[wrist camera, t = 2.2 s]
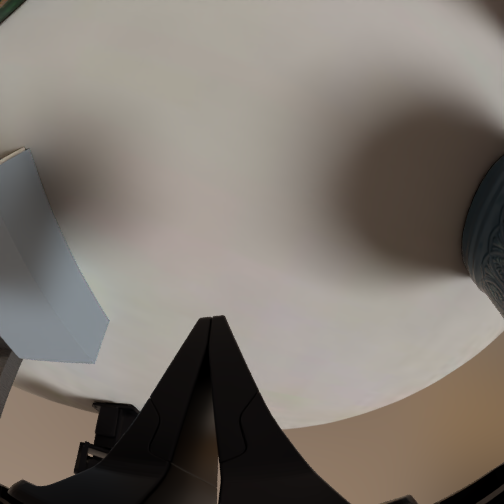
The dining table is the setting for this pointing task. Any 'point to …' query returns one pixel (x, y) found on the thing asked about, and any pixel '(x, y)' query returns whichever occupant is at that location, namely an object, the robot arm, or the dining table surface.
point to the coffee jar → (8, 7)
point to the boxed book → (41, 275)
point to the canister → (487, 236)
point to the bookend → (7, 371)
